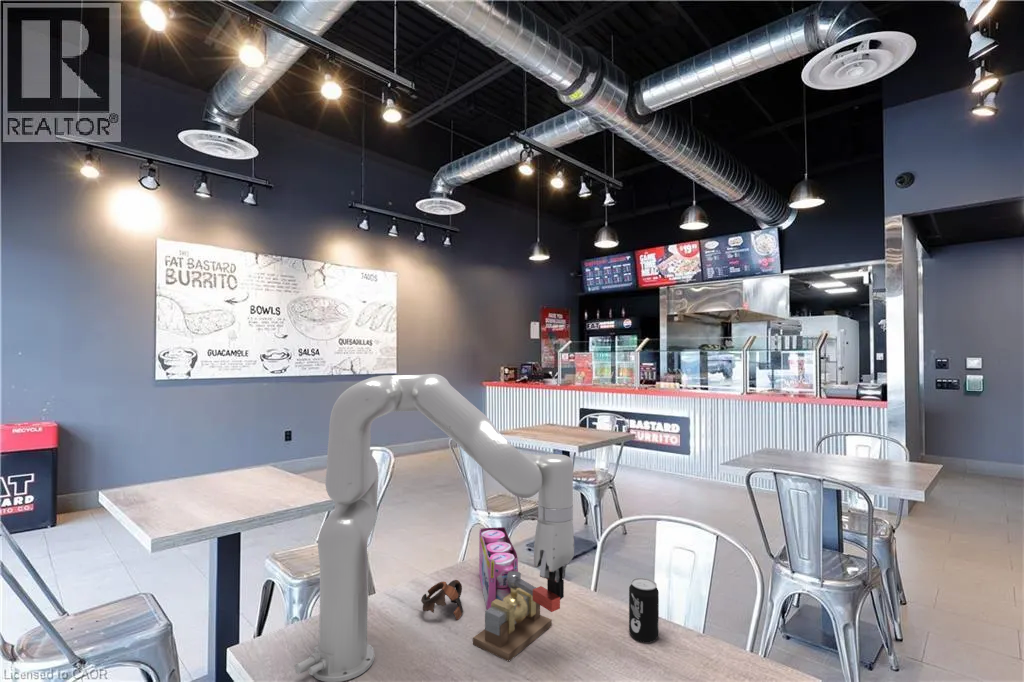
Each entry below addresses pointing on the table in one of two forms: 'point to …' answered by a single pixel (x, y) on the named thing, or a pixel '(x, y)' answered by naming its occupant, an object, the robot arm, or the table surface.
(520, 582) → the lever
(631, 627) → the beverage can
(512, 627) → the ball valve
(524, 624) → the valve board
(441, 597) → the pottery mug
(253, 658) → the table surface
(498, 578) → the gum box
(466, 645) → the table surface
